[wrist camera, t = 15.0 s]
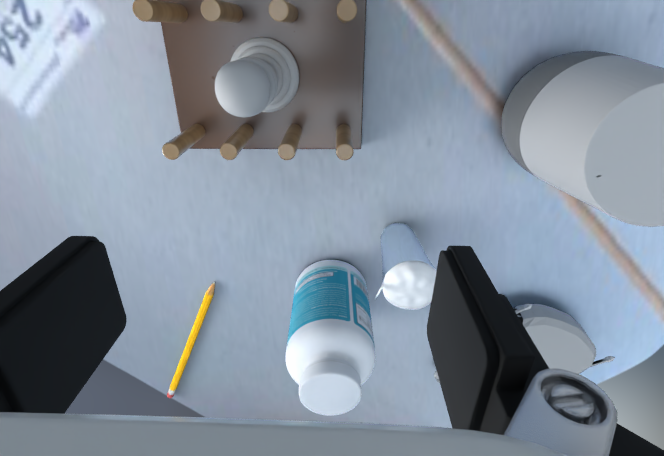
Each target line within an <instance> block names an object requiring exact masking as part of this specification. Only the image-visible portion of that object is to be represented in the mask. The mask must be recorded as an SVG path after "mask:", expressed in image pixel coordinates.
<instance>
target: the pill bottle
mask: <svg viewBox="0 0 664 456" xmlns="http://www.w3.org/2000/svg"><path fill="white" fill-rule="evenodd" d="M375 359H376V356H375V346H374V338H373V331H372V323H371V315H370V308H369V299H368V292H367V286H366V282H365V279H364V277H363V276H362V274H361V273H360V272H359V271H358V270H357V269H356V268H355V267H354V266H352V265H350V264H348V263H346V262H343V261H339V260H323V261H319V262H316V263H314V264H312V265H310V266H308V267H307V268H306V269H305V270H304V271H303V272H302V273H301V274H300V276H299V277H298V279H297V282H296V286H295V292H294V299H293V306H292V313H291V321H290V328H289V334H288V341H287V348H286V365H287V369H288V371H289V373H290V375H291V377H292V378H293V379H294V380H295V382H296V383H298V384H299V398H300V400H301V402H302V404H303V405H304V406H305V407H306V408H307V409H309V410H310V411H312V412H314V413H317V414H321V415H340V414H344V413H346V412H348V411H350V410H352V409H353V408H354V407H356V406H357V404H358V403H359V401H360V399H361V394H362V392H361V385H363V384H364V383H365V382H366V381H367V380H368V378H369V377H370V375H371V374H372V372H373V369H374V366H375Z"/></svg>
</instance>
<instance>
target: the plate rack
mask: <svg viewBox="0 0 664 456" xmlns="http://www.w3.org/2000/svg"><path fill="white" fill-rule="evenodd" d="M133 12H134V14H135V16H136V17H137V18H138V19H139V20H141V21H146V22H161V25H162V31H163V36H164V42H165V47H166V53H167V58H168V64H169V70H170V75H171V81H172V86H173V92H174V97H175V103H176V108H177V114H178V120H179V125H180V131H181V133H180V134H179V135H177V136H176V137H175V138H173V139H172V140H170V141H169V142H167V143H166V144H164V145H163V147H162V152H163V154H164V156H165V157H166V158H168V159H171V160H174V159H177V158H178V157H179V156H181V155H182V154H183V153H184V152H185V151H187V150H188V149H220V153H221V155H222V157H223V158H225V159H227V160H232V159H234V158H236V156H237V155H238V154H239V152H240V151H241V150H242V149H278V154H279V156H280V157H281V158H282V159H284V160H290V159H292V158H293V157H294V156H295V153H296V150H297V149H336V154H337V156H338V158H339V159H341V160H348V159H350V158H351V157H352V156H353V149H361V135H362V107H363V79H364V51H365V22H366V0H135V1H134V3H133ZM257 37H265V38H270V39H273V40H276V41H278V42H280V43H281V44H282V45H284V46H285V47H286V48H287V49H288V50H289V51H290V52H291V54H292V55H293V57H294V59H295V61H296V63H297V66H298V70H299V85H298V89H297V92H296V94H295V96H294V98H293V99H292V101H291V102H290V103H289V104H288V105H286V106H285V107H284V108H282V109H280V110H277V111H274V112H261V113H259V114H257V115H255V116H251V117H237V116H234V115H232V114H230V113H228V112H227V111H225V110H224V109H223V108H222V106H221V105H220V103H219V101H218V99H217V97H216V93H215V79H216V76H217V73H218V71H219V70H220V69H221V67H222V66H224V65H225V64H227V63H229V62H230V61H231V58H232V56H233V54H234V52H235V51H236V49H237V48H238V47H239V46H240V45H241V44H242V43H244V42H245V41H247V40H250V39H252V38H257Z"/></svg>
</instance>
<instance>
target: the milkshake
mask: <svg viewBox="0 0 664 456" xmlns="http://www.w3.org/2000/svg"><path fill="white" fill-rule="evenodd" d="M381 252H382V285H381V287H380V289H379V291H378V292H377V294H376V296H375V300H376V298H377V297H378V295H379V293H380V291H381V290H382V288H383V293H384V296H385V298H386V299H387V300H388V301H389V302H390V303H391V304H393V305H394V306H396V307H398V308H402V309H410V310H417V309H421V308H424V307H426V306H427V305H428V304H429V303H431V301H432V295H433V289H434V284H435V278H436V272H437V271H436V269H435V268H434V266H433V265H432V263H431V261H430V260H429V258H428V256H427V255H426V253H425V251H424V249H423V247H422V246H421V244H420V242H419V240H418V238H417V237H416V235H415V233H414V231H413V230H412V229H411V228H410V227H409V226H408V225H406V224H405V223H393V224H391V225H389V226H387V227H385V229H384V231H383V233H382V234H381ZM375 300H374V301H375Z"/></svg>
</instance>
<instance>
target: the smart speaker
mask: <svg viewBox="0 0 664 456" xmlns="http://www.w3.org/2000/svg"><path fill="white" fill-rule="evenodd" d="M501 129H502V136H503V140H504V143H505V145H506V147H507V149H508V151H509V153H510V155H511V156H512V157H513V159H514V160H515V161H516V162H517V163H518V164H519V165H520V166H521V167H523V168H524V169H525V170H526V171H528V172H529V173H531V174H532V175H534V176H535V177H537V178H539V179H540V180H542V181H544V182H546V183H548V184H550V185H552V186H554V187H556V188H558V189H559V190H561V191H563V192H565V193H567V194H569V195H571V196H573V197H575V198H577V199H579V200H581V201H582V202H584V203H586V204H588V205H590V206H592V207H594V208H596V209H598V210H600V211H602V212H604V213H605V214H607V215H609V216H611V217H613V218H615V219H618V220H620V221H622V222H625V223H628V224H632V225H637V226H647V227H657V226H664V68H661V67H658V66H654V65H651V64H648V63H645V62H641V61H638V60H635V59H632V58H628V57H624V56H620V55H615V54H610V53H604V52H596V51H581V52H572V53H568V54H563V55H560V56H556V57H554V58H551V59H549V60H547V61H545V62H543V63H541V64H539V65H537V66H536V67H534V68H533V69H532V70H530V71H529V72H528V73H527V74H526V75H525V76H523V77H522V78H521V80H520V81H519V82H518V83H517V84H516V85H515V87H514V88H513V90H512V91H511V93H510V95H509V96H508V99H507V101H506V103H505V106H504V109H503V113H502V120H501Z"/></svg>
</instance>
